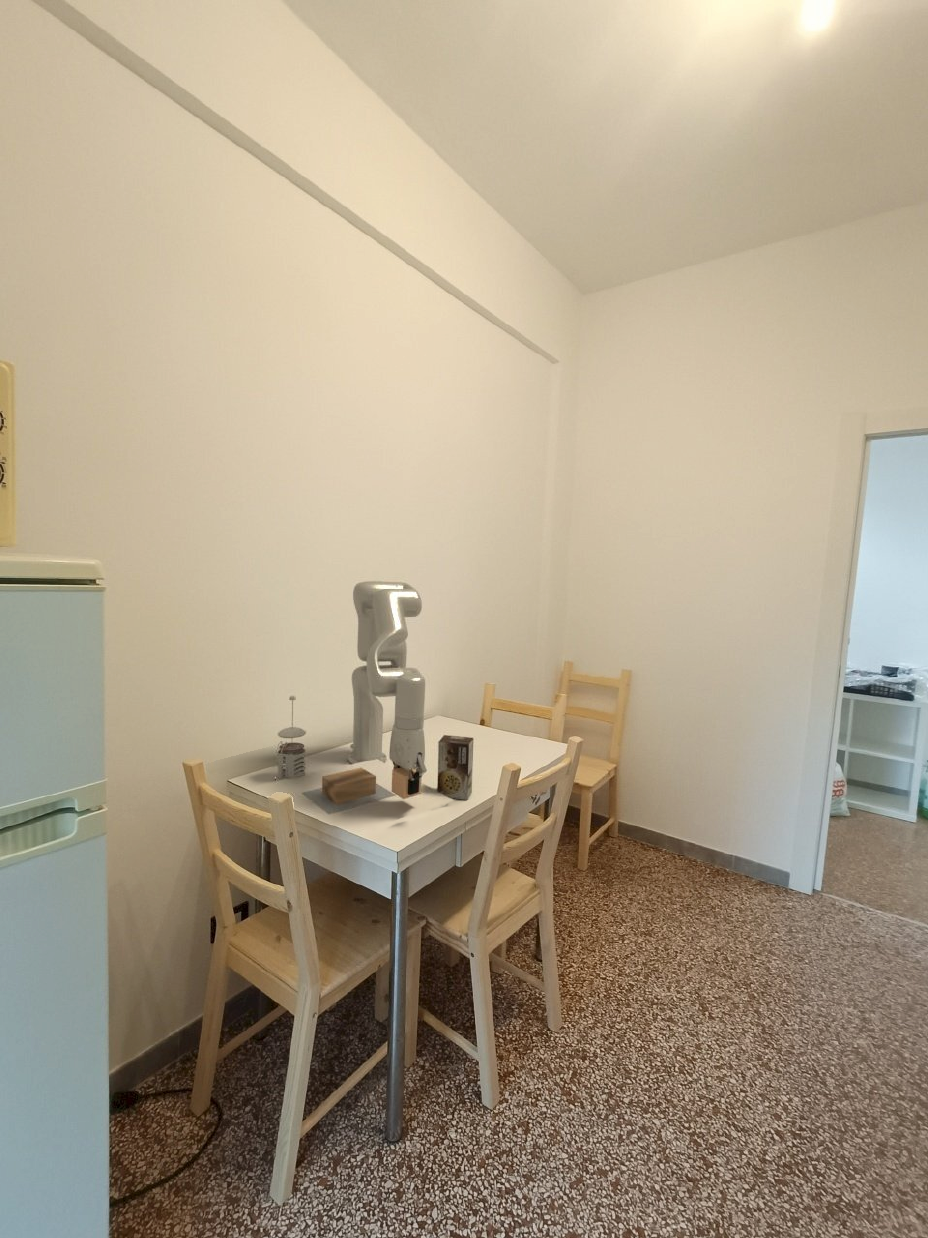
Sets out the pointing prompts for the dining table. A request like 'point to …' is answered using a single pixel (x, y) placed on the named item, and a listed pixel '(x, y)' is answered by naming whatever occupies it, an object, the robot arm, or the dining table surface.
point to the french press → (291, 752)
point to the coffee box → (455, 766)
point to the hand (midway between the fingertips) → (406, 788)
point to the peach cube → (402, 782)
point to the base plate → (332, 807)
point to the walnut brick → (348, 785)
